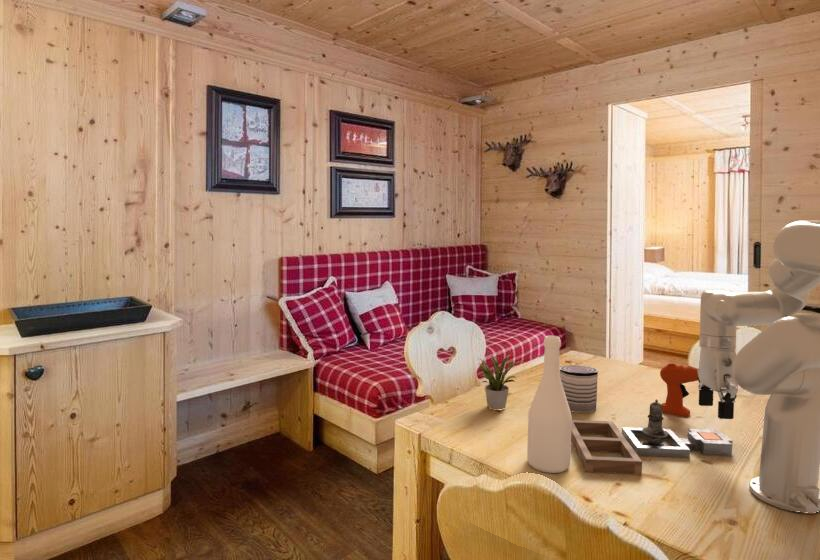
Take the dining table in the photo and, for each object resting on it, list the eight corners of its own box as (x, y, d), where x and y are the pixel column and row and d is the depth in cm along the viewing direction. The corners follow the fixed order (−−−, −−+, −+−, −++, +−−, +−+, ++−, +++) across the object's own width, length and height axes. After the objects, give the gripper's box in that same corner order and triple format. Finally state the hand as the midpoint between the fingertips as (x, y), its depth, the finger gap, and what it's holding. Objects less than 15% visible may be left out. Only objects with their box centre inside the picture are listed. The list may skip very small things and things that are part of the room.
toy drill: (736, 421, 139) (732, 367, 138) (659, 415, 150) (655, 365, 149) (736, 416, 143) (732, 362, 142) (662, 410, 154) (658, 361, 153)
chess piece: (644, 438, 132) (647, 393, 131) (669, 445, 129) (672, 398, 127) (638, 446, 128) (640, 399, 126) (663, 453, 124) (666, 405, 123)
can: (556, 410, 152) (557, 370, 150) (558, 397, 162) (559, 360, 161) (597, 415, 148) (599, 374, 147) (596, 401, 159) (598, 363, 157)
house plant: (522, 399, 161) (523, 348, 159) (527, 416, 147) (529, 360, 145) (475, 398, 162) (476, 347, 160) (477, 414, 148) (478, 359, 146)
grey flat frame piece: (739, 459, 121) (740, 447, 120) (637, 455, 123) (637, 443, 123) (715, 438, 132) (715, 426, 132) (621, 434, 135) (622, 423, 134)
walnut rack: (641, 474, 114) (642, 461, 114) (585, 471, 115) (586, 459, 115) (612, 432, 136) (612, 421, 136) (565, 430, 137) (566, 419, 137)
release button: (721, 450, 125) (721, 439, 125) (704, 449, 125) (705, 439, 125) (713, 443, 129) (714, 433, 128) (697, 442, 129) (698, 432, 129)
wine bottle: (562, 454, 124) (566, 332, 120) (576, 474, 114) (581, 341, 110) (522, 455, 123) (525, 332, 120) (533, 475, 114) (537, 342, 110)
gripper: (754, 349, 114) (751, 424, 116) (716, 335, 132) (714, 401, 133) (718, 348, 115) (716, 423, 116) (685, 335, 132) (683, 400, 133)
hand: (715, 411), depth 125 cm, fingers open, 9 cm apart
